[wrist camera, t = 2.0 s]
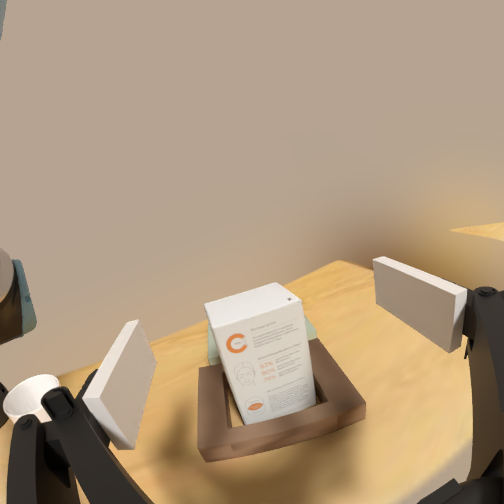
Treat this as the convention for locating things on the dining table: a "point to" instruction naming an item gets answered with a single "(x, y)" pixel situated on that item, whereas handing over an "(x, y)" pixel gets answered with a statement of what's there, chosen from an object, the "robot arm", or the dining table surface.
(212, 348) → the board
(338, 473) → the dining table surface
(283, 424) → the walnut holder
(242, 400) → the small box
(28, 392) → the white cup
